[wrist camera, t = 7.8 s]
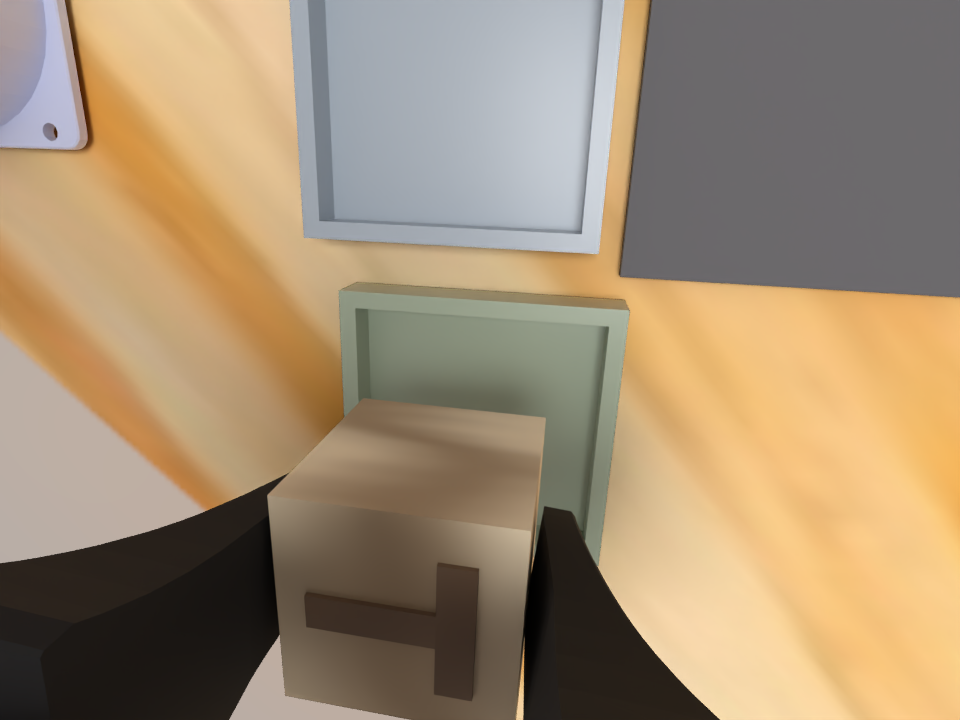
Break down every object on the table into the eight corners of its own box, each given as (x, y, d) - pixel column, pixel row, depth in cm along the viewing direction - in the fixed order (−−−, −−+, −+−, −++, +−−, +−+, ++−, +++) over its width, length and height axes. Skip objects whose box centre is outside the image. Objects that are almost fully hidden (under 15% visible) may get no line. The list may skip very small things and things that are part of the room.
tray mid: (325, 233, 18) (304, 237, 16) (310, -87, 15) (282, -116, 14) (596, 247, 16) (598, 253, 15) (630, -97, 14) (637, -129, 12)
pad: (619, 274, 17) (620, 276, 16) (666, -135, 13) (668, -144, 13) (991, 297, 15) (1002, 299, 15) (1139, -155, 12) (1157, -165, 12)
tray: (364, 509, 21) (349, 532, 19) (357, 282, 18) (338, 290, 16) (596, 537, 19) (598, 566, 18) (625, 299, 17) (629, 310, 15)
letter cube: (366, 551, 15) (282, 700, 11) (363, 398, 14) (264, 498, 9) (532, 575, 14) (512, 744, 10) (545, 417, 13) (530, 535, 9)
